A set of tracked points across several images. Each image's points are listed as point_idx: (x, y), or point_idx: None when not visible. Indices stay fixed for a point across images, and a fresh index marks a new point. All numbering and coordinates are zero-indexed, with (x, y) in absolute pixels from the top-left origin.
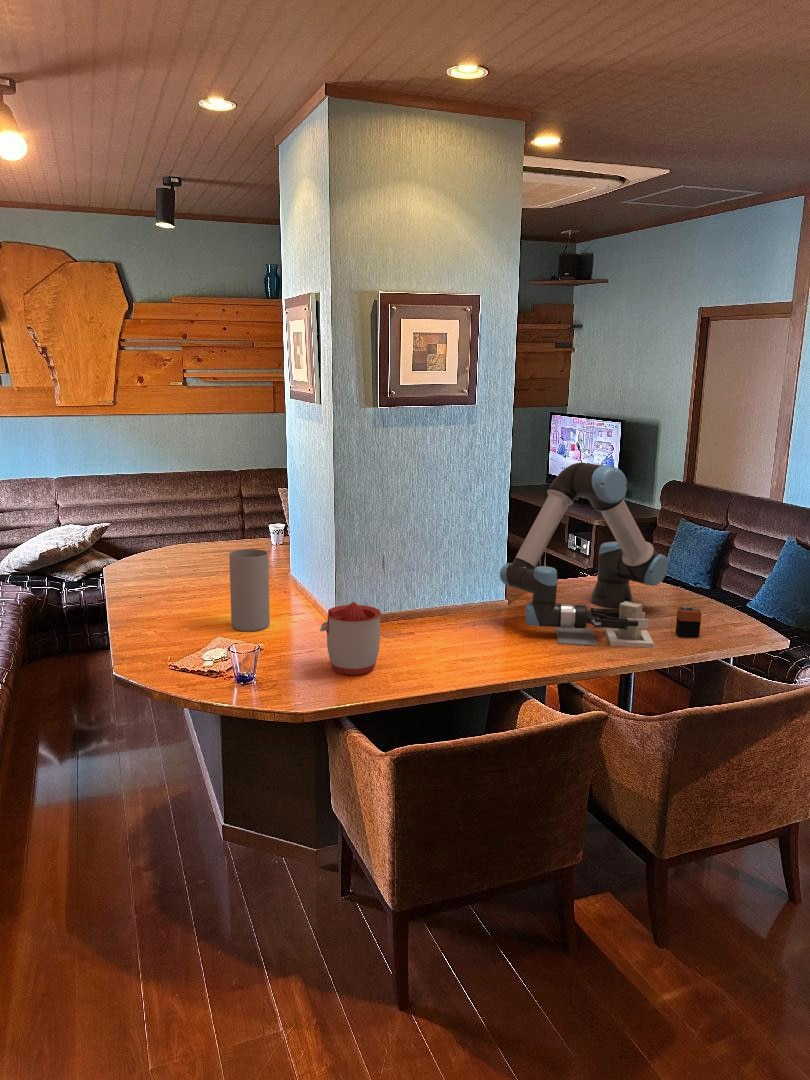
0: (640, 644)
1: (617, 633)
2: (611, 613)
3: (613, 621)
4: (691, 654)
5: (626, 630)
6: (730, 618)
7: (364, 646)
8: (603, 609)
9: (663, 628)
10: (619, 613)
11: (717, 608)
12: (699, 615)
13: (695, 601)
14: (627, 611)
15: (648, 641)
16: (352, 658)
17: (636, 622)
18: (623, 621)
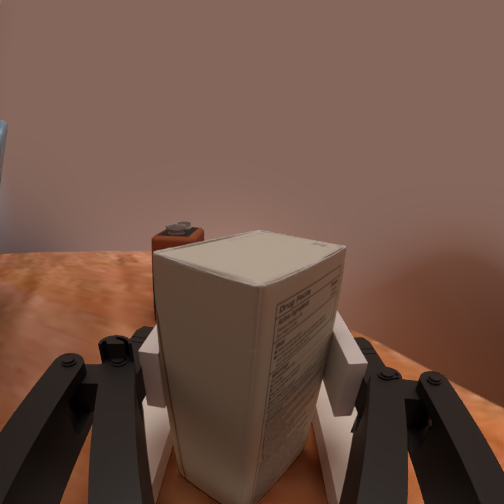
0: None
1: (154, 492)
2: (138, 455)
3: (482, 443)
4: (350, 330)
5: (286, 443)
6: (95, 257)
7: None
8: (6, 467)
9: (103, 329)
10: (259, 391)
11: (46, 255)
12: (203, 240)
13: (4, 259)
14: (309, 319)
15: (322, 391)
16: None
17: (370, 344)
18: (446, 384)
